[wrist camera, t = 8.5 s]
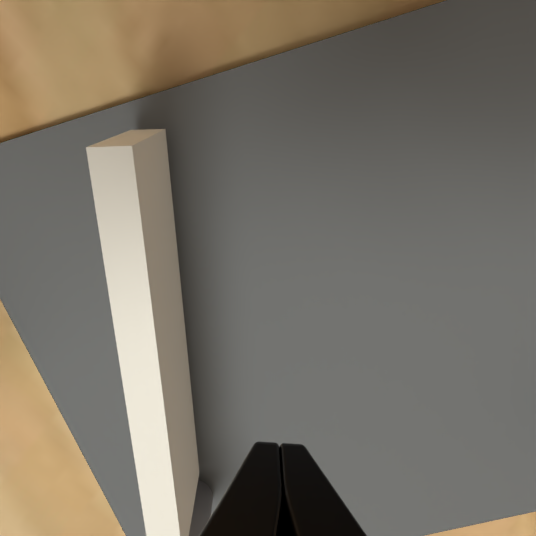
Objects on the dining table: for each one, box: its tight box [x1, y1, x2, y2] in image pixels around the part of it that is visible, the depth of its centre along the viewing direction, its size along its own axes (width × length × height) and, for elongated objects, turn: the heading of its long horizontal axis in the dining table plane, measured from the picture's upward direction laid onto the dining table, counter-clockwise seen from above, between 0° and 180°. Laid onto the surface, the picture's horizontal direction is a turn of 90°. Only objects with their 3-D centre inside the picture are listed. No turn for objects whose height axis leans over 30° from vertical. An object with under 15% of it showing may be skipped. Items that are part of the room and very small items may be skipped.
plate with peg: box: [0, 0, 536, 536], centre depth 19 cm, size 23×23×6 cm
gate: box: [86, 129, 213, 536], centre depth 18 cm, size 18×2×5 cm, turn 2°
